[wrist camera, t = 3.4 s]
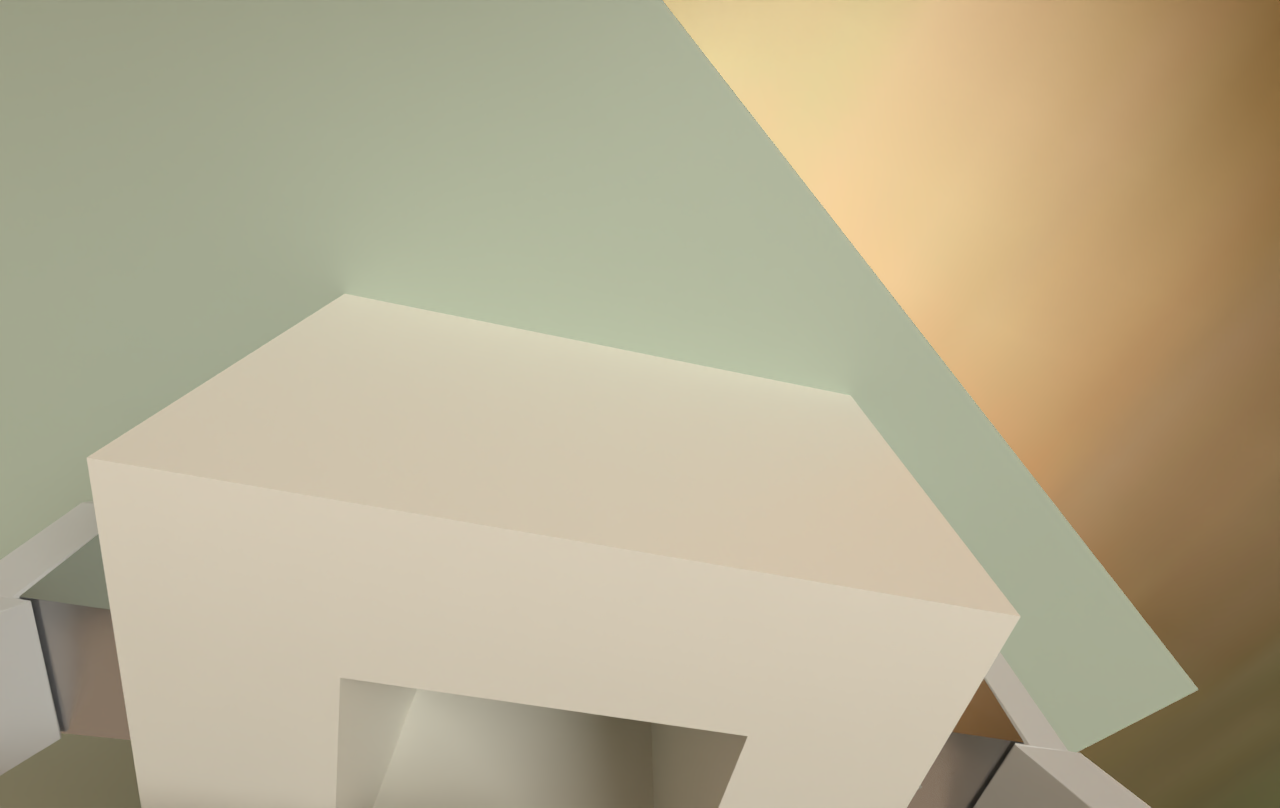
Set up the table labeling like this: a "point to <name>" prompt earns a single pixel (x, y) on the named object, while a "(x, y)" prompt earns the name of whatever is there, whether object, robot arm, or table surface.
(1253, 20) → the table surface
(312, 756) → the square collar
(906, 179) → the table surface
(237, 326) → the post board
